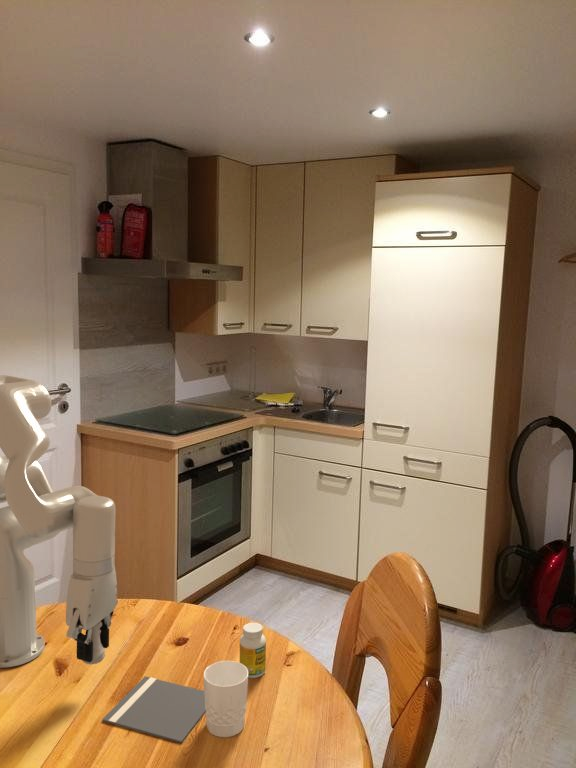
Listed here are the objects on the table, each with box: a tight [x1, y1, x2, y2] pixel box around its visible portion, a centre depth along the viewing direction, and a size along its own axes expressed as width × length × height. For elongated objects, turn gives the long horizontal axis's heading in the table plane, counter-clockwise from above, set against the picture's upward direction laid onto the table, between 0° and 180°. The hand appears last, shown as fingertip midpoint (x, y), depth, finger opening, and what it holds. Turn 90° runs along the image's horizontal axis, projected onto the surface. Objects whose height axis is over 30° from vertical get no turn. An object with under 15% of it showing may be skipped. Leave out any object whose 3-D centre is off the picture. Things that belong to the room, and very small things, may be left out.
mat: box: [102, 676, 206, 744], centre depth 118 cm, size 16×14×1 cm
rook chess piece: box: [81, 621, 106, 665], centre depth 122 cm, size 4×4×8 cm
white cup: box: [203, 660, 249, 738], centre depth 114 cm, size 8×8×10 cm
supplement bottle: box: [239, 622, 267, 679], centre depth 130 cm, size 5×5×10 cm
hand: (93, 651), depth 123 cm, fingers closed on rook chess piece, 4 cm apart
